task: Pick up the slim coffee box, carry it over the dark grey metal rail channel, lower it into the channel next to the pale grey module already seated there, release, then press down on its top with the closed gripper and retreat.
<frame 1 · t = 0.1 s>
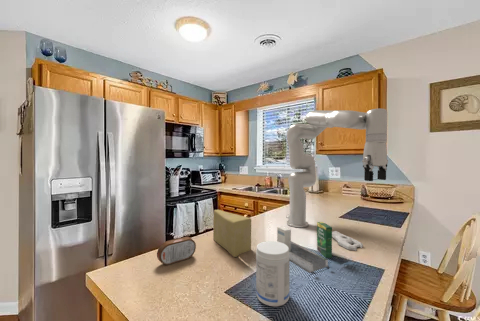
hand: (375, 180, 91), 31 cm above the countertop, fingers open, 9 cm apart
supplement tub: (272, 297, 63), on the countertop
coffee box: (323, 256, 90), on the countertop
seated module: (283, 249, 94), point 1 cm above the countertop, touching rail
rail: (297, 259, 87), on the countertop
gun: (343, 243, 104), on the countertop
tin: (177, 261, 85), on the countertop
cheese: (227, 247, 98), on the countertop
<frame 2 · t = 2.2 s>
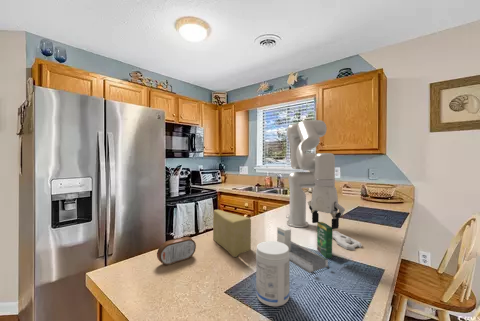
hand: (324, 225, 89), 13 cm above the countertop, fingers open, 9 cm apart
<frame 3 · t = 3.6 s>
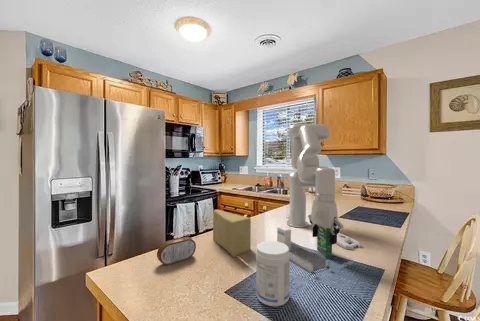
hand: (324, 239, 90), 7 cm above the countertop, fingers closed on coffee box, 8 cm apart
coffee box: (323, 256, 90), on the countertop, touching gripper
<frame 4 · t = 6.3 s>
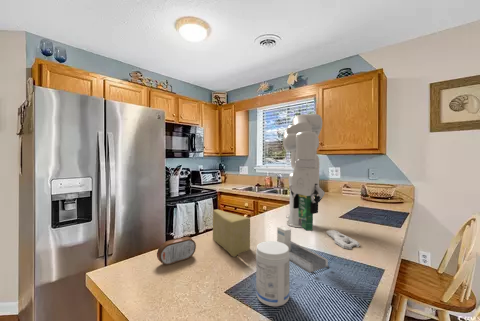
hand: (305, 210, 83), 20 cm above the countertop, fingers closed on coffee box, 8 cm apart
coffee box: (304, 228, 83), point 14 cm above the countertop, touching gripper
when the fingers open (9 cm above the countertop, at t = 9.3 s): coffee box drops 1 cm, resting on rail.
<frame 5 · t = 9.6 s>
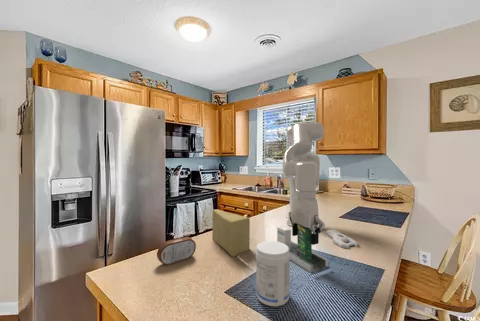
hand: (304, 239, 83), 9 cm above the countertop, fingers open, 9 cm apart
coffee box: (303, 260, 84), point 1 cm above the countertop, touching gripper, rail
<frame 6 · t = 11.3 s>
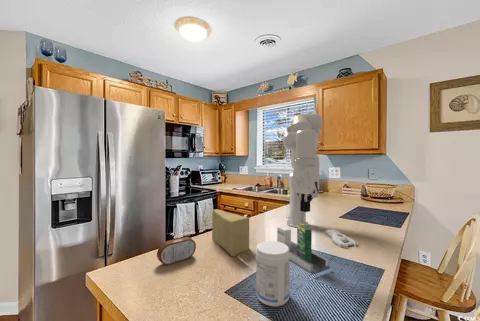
hand: (305, 211, 83), 20 cm above the countertop, fingers closed
coffee box: (303, 260, 84), point 1 cm above the countertop, touching rail
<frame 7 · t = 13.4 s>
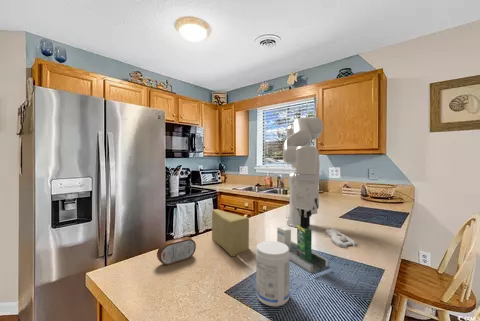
hand: (305, 226, 83), 14 cm above the countertop, fingers closed
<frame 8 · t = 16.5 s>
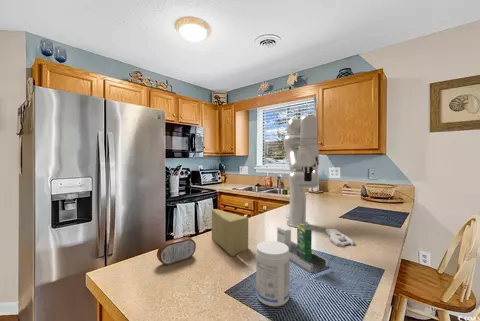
hand: (307, 181, 104), 29 cm above the countertop, fingers closed
at the end: coffee box inside the target area (0.5 cm from its centre), point 0.8 cm above the countertop; coffee box tilted 0°; the gripper is holding nothing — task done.
